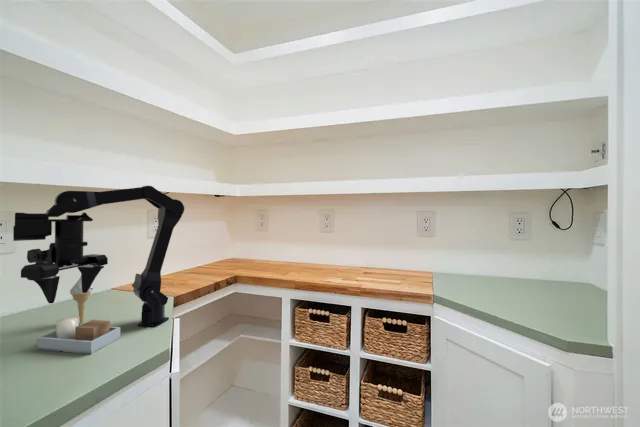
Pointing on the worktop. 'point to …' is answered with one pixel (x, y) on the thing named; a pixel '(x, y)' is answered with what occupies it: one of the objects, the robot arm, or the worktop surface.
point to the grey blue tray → (77, 342)
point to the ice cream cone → (80, 297)
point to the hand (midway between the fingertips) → (68, 297)
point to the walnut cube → (92, 330)
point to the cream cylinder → (66, 328)
